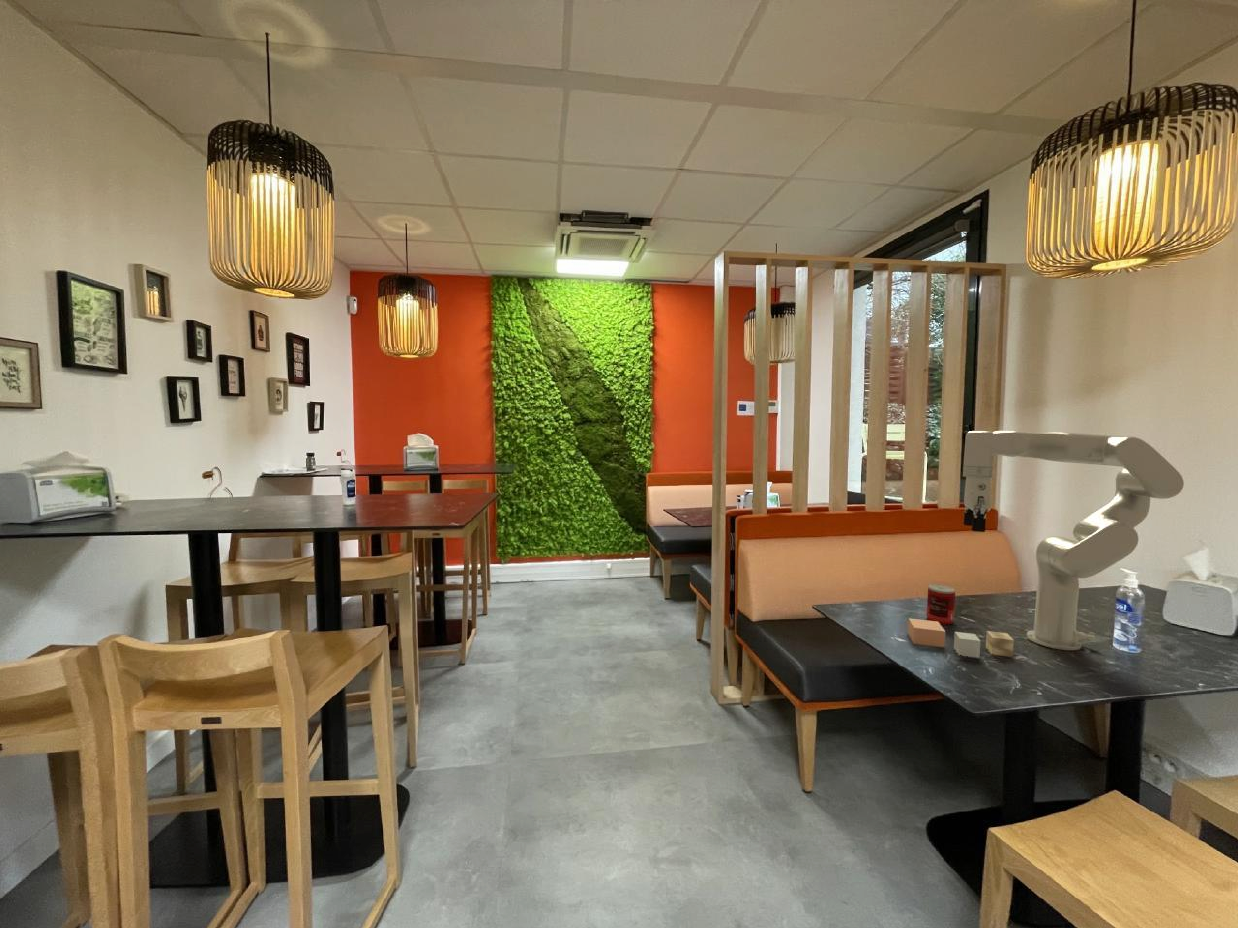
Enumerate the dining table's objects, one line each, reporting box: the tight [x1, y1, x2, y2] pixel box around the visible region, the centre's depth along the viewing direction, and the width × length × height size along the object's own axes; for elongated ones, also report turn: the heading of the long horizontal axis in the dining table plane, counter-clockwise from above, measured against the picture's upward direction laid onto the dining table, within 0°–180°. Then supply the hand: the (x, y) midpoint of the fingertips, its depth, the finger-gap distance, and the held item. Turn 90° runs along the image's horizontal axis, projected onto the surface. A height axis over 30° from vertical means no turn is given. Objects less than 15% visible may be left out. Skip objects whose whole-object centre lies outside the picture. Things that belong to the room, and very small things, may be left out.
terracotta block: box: [907, 618, 946, 648], centre depth 158 cm, size 8×8×5 cm
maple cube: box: [985, 630, 1015, 658], centre depth 150 cm, size 5×5×5 cm
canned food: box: [926, 583, 956, 625], centre depth 174 cm, size 8×8×11 cm
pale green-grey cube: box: [953, 631, 981, 659], centre depth 149 cm, size 5×5×5 cm
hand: (973, 528), depth 160 cm, fingers open, 9 cm apart
